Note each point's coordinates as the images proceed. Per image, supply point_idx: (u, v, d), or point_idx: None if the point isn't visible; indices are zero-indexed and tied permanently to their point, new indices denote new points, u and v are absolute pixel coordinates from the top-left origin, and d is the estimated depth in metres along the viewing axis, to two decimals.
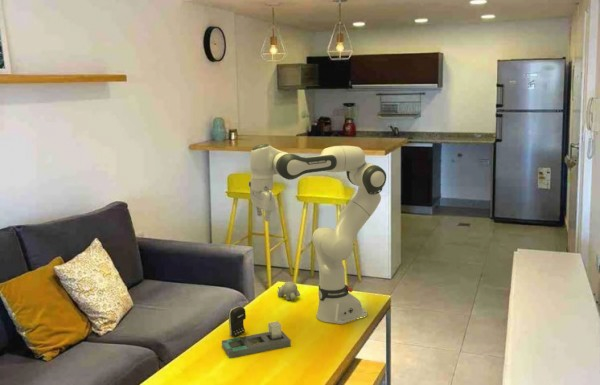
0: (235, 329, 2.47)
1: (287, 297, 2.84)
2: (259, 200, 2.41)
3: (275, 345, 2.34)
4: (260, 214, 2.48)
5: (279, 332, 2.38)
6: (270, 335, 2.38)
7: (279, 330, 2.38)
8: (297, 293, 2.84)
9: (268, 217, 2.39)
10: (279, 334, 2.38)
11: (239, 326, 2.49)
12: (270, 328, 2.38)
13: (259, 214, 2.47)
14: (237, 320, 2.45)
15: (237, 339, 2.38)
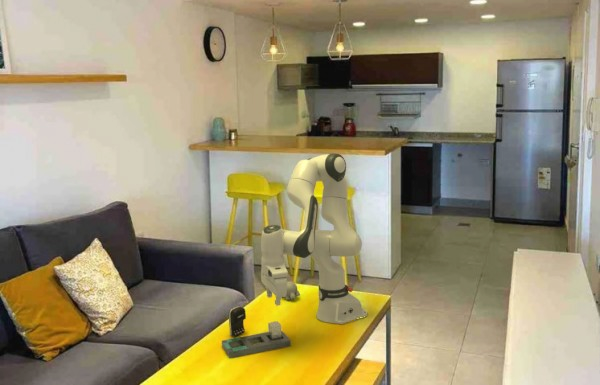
0: (235, 329, 2.47)
1: (286, 297, 2.84)
2: None
3: (275, 345, 2.34)
4: None
5: (279, 332, 2.38)
6: (270, 335, 2.38)
7: (279, 330, 2.38)
8: (297, 293, 2.84)
9: None
10: (279, 334, 2.38)
11: (239, 326, 2.49)
12: (270, 328, 2.38)
13: None
14: (237, 320, 2.45)
15: (237, 339, 2.38)
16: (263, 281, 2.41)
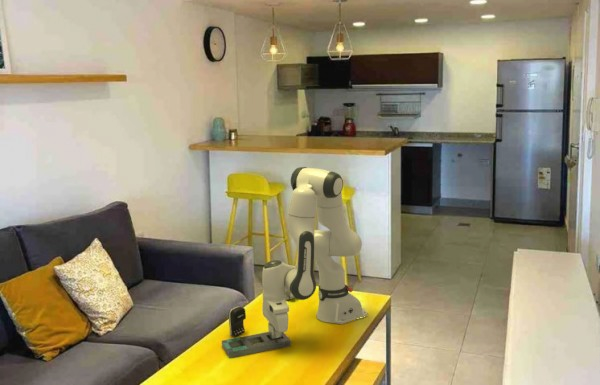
0: (235, 329, 2.47)
1: (286, 296, 2.84)
2: None
3: (275, 345, 2.34)
4: None
5: None
6: (270, 335, 2.38)
7: None
8: None
9: None
10: None
11: (239, 326, 2.49)
12: (270, 328, 2.38)
13: None
14: (237, 320, 2.45)
15: (237, 339, 2.38)
16: (264, 314, 2.44)
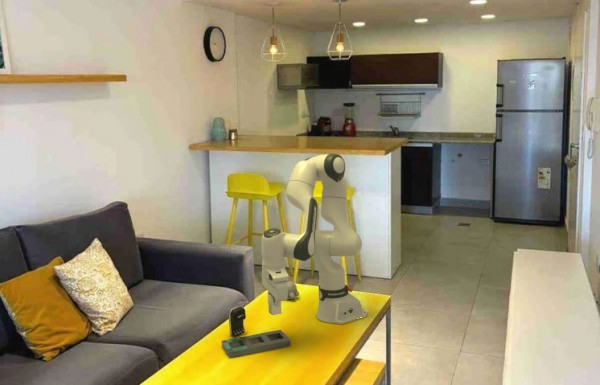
0: (235, 329, 2.47)
1: None
2: None
3: (275, 345, 2.34)
4: None
5: None
6: (270, 305, 2.36)
7: None
8: (296, 293, 2.85)
9: None
10: None
11: (239, 326, 2.49)
12: (269, 298, 2.35)
13: None
14: (237, 320, 2.45)
15: (237, 339, 2.38)
16: (264, 284, 2.41)
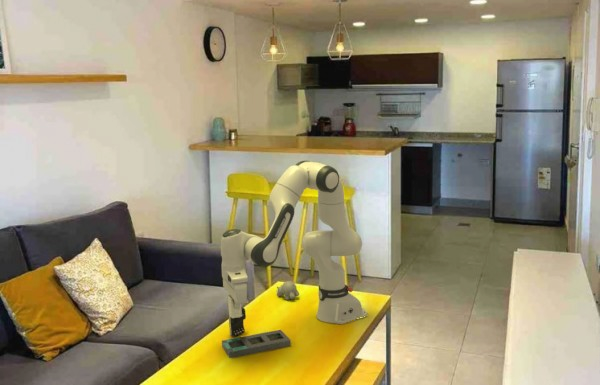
0: (235, 329, 2.47)
1: (286, 296, 2.84)
2: None
3: (275, 345, 2.34)
4: None
5: None
6: (230, 307, 2.30)
7: None
8: (296, 293, 2.85)
9: None
10: None
11: (239, 326, 2.49)
12: (229, 300, 2.29)
13: None
14: (237, 320, 2.45)
15: (237, 339, 2.38)
16: (225, 286, 2.35)
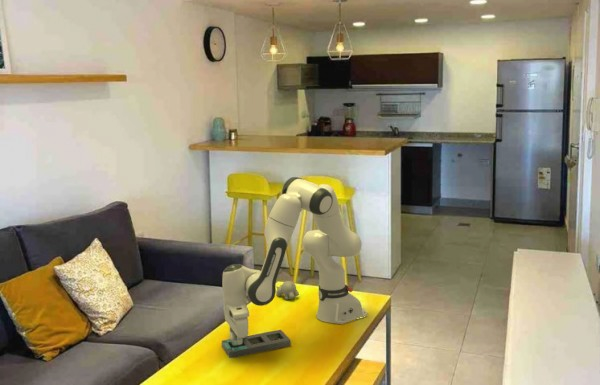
0: None
1: (285, 296, 2.84)
2: None
3: (275, 345, 2.34)
4: None
5: None
6: (231, 342, 2.33)
7: None
8: (296, 292, 2.85)
9: None
10: None
11: None
12: (231, 335, 2.32)
13: None
14: None
15: None
16: (226, 319, 2.37)
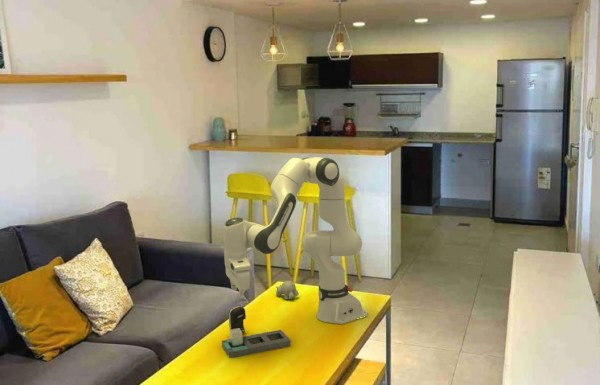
0: None
1: (285, 296, 2.84)
2: None
3: (275, 345, 2.34)
4: None
5: (240, 339, 2.32)
6: (231, 342, 2.33)
7: (240, 337, 2.32)
8: (296, 292, 2.85)
9: None
10: (240, 341, 2.32)
11: (239, 326, 2.49)
12: (231, 335, 2.32)
13: None
14: (237, 320, 2.45)
15: None
16: (227, 274, 2.38)
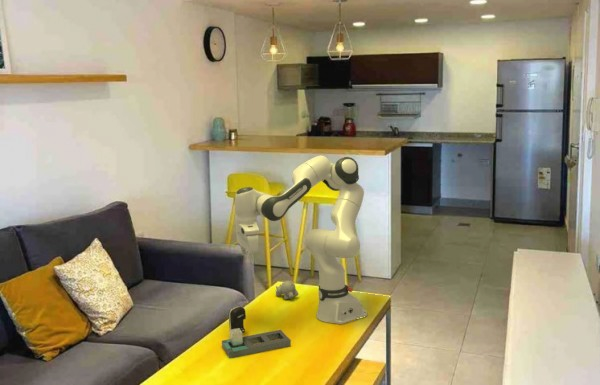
0: None
1: (285, 296, 2.84)
2: None
3: (275, 345, 2.34)
4: None
5: (240, 339, 2.32)
6: (231, 342, 2.33)
7: (240, 337, 2.32)
8: (295, 292, 2.85)
9: None
10: (240, 341, 2.32)
11: (239, 326, 2.49)
12: (231, 335, 2.32)
13: None
14: (237, 320, 2.45)
15: None
16: (238, 240, 2.59)
